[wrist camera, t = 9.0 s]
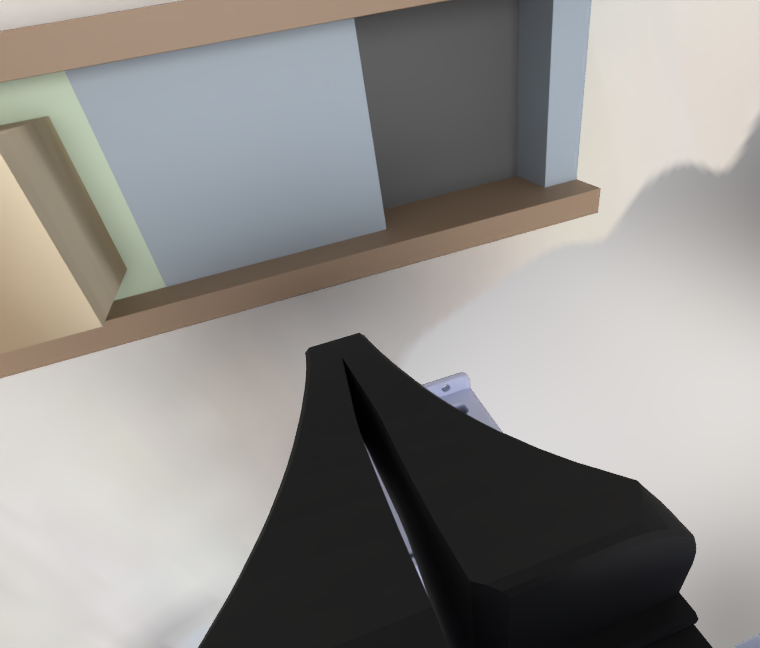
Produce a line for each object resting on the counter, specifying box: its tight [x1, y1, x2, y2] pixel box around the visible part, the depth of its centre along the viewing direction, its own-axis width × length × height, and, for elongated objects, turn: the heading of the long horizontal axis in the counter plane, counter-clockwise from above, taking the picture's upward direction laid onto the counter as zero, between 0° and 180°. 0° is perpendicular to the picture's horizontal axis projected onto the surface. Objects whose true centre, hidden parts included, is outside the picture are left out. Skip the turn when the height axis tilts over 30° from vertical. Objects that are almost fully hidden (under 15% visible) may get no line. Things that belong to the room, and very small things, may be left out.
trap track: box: [0, 0, 600, 378], centre depth 15 cm, size 31×9×4 cm, turn 99°
